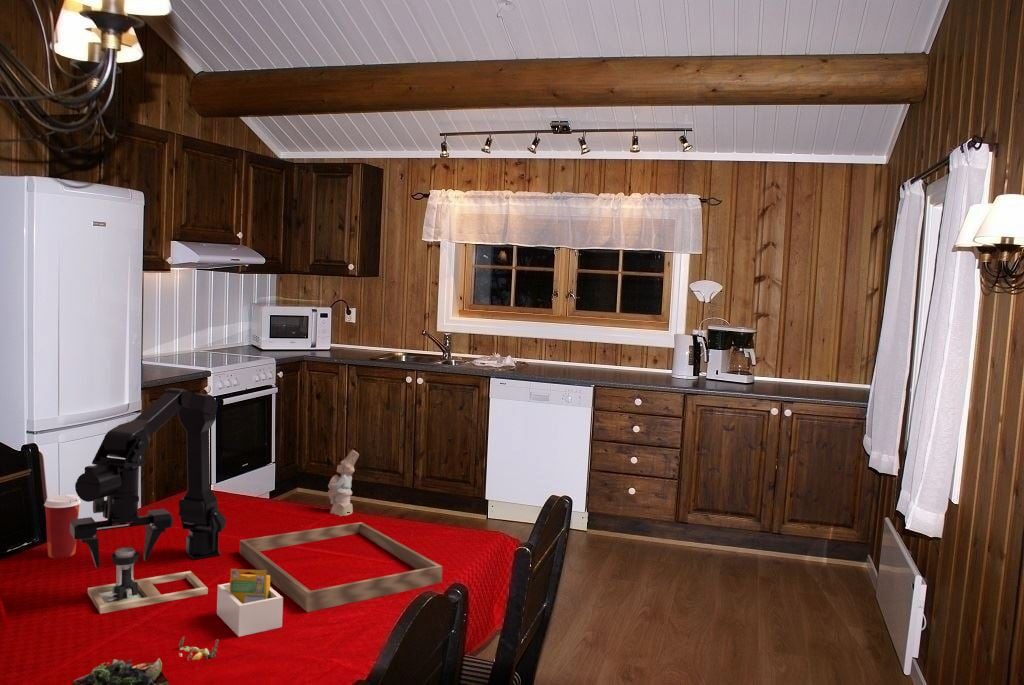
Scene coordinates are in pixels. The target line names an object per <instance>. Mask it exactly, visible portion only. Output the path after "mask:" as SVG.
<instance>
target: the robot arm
mask: <svg viewBox="0 0 1024 685" xmlns="http://www.w3.org/2000/svg"><path fill="white" fill-rule="evenodd" d="M217 402H218V401H217V398H215V397H214V396H213V395H211V394H204V393H202V394H201V393H196V392H191V391H189V390H187V389H184V388H174V387H170V388H165V390H164V391H163V393H162V394H161V396H159V398H157V399H156V400H155V401H154V402H153V403H152V404H151V405H149V406H148V407H147V408H146V409H144V410H143V411H142V412H141V413H140V414H138V415H137V417H135V418H134V419H132V420H130V421H128V422H124V423H121V424H118V425H116V426H114V427H113V428H112V429H109V430H108V431H107V433H106V434H105V435H104V437H103V440H102V441H101V444H100V445H99V447H98V450H97V451H96V453H95V455H94V458H93V460H92V461H91V464H92V465H88V466H85V467H84V473H82V474H80V475H79V476H78V478H77V479H76V482H75V485H74V487H75V488H74V489H75V492H76V495H77V496H78V497H79V500H82V501H84V502H88V503H90V502H92V512H93V514H101V513H102V518H104V519H107V520H99V521H95V519H93V517H92V516H91V517H82V518H78V519H73V520H72V521H71V523H70V533H71V535H72V536H73V538H74V539H77V540H79V541H80V542H81V543H84V544H85V543H86V544H87V546H88V549H89V552H90V554H91V557H92V560H93V562H94V566H95V568H96V569H99V568H100V548H99V547H100V546H99V545H100V544H99V538H98V536H97V533H98V532H100V531H107V530H117V529H125V528H133V527H140V526H144V529H145V534H144V536H145V537H144V544H143V561H144V562H147V561H148V559H149V557H150V554H151V553H152V550H153V548H154V546H155V545H156V543H157V541H158V539H159V538H160V536H161V535H162V534H163V533H166V532H167V529H168V528H172V527H174V526H173V525H174V517H173V515H172V514H171V513H170V512H169V511H168V510H166V508H159V509H157V508H156V509H149V510H147V512H146V515H140V516H139V502H140V495H139V482H140V481H139V480H140V478H139V476H140V467H141V466H145V465H146V464H147V463H146V461H145V460H144V459H142V456H143V454H144V453H145V452H146V451H147V449H148V447H149V446H150V445H151V438H152V437H153V435H154V434H155V433H156V432H157V431H159V429H160V428H162V427H163V426H164V425H165V424H166V423H167V422H168V421H169V420H170V419H171V418H173V417H174V416H175V414H177V413H178V419H179V423H180V424H181V425H182V427H183V428H184V430H185V431H186V464H187V466H186V467H187V491H186V493H185V495H184V496H183V497H182V498H181V499H179V501H178V507H179V510H178V511H179V512H178V516H179V517H180V523H181V526H182V530H188V535H186V539H185V542H186V543H185V553H186V554H187V555H188V556H189V557H190V558H192V559H193V560H197V559H203V558H205V559H206V558H210V557H216V556H217V557H218V556H221V551H220V550H219V539H220V538H219V535H220V534H219V533H220V532H223V529H225V527H226V524H227V518H225V516H224V515H223V513H221V510H219V502H218V499H217V497H216V495H215V494H214V492H213V491H212V489H211V470H210V469H211V465H210V463H211V462H210V460H211V459H210V430H211V428H212V427H213V424H214V423H215V421H216V419H217V411H218V403H217ZM105 498H106V499H105Z"/></svg>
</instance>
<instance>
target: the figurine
mask: <svg viewBox="0 0 1024 685" xmlns="http://www.w3.org/2000/svg"><path fill="white" fill-rule="evenodd" d="M359 456H360V454H359V453H358V452H357V451H355V450H354V449H351V451H350V452H349V453H348V454H347V456H346V457H345V458H344V459H343V460H341V461H340V464H338V465H337V466H336V467H337V468H336V472H337V473H339V474H340V476H339V475H338V474H334V475H333V476H332V477H331V478H330V481H329V483H328V484H327V487H328V489H329V490H328V491H327V494H328V499H330V504H331V505H332V507H331V508H330V511H329V513H330V514H331V515H335V516H337V515H338V516H339V517H342V516H349V515H352V514H353V512H354V510H353V509H354V508H353V503H351V496H352V495H353V491H352V489H351V488H352V481H353V477H352V474H353V473H354V472H355V470H356V469H355V467H354V466H355V464H356V462H357V460H358V459H359ZM347 512H350V513H347Z"/></svg>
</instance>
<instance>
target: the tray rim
mask: <svg viewBox="0 0 1024 685" xmlns="http://www.w3.org/2000/svg"><path fill="white" fill-rule="evenodd" d="M356 534H360V535H362V536H364V537H365V538H366V539H369V540H370V541H371V542H373V543H374V544H376V545H378V546H379V547H381V548H382V549H384V550H385V551H387V552H389V553H390V554H392V555H393V556H395V557H397V559H399V560H401V561H403V563H406V564H407V565H408V566H411V567H412V568H413V569H414V570H409V571H403V572H398V573H394V574H389V575H383V576H379V577H373V578H369V579H364V580H363V579H362V580H359V581H358V580H357V581H354V582H353V581H352V582H348V583H343V584H339V585H333V586H328V587H321V588H319V589H317V588H316V589H314V590H310V589H309V588H308V587H306V586H305V585H304V584H302V583H301V582H300V581H298V580H297V579H296V578H294V577H293V576H292V575H290V574H289V573H288V572H287V571H285V570H284V569H283V568H281V567H280V565H278V564H276V563H275V562H274V561H273V560H271V559H270V557H267V556H266V555H265V554H263V553H262V552H263V551H269V550H274V549H278V548H284V547H285V548H286V547H290V546H295V545H301V544H306V543H311V542H312V543H313V542H317V541H322V540H324V541H325V540H328V539H333V538H339V537H344V536H349V535H350V536H351V535H356ZM239 554H240V556H242V557H243V558H244V559H245V560H246V561H248V563H250V565H252V566H253V567H254V568H255V570H267V574H266V575H270V583H271V584H273V585H274V586H275V587H276V588H277V589H279V590H280V591H281V592H282V593H283V594H284V595H285V596H287V597H289V598H290V599H291V601H293V602H294V603H296V604H297V605H298V606H299V607H301V608H302V609H303V611H306V613H310V612H315V611H318V610H319V611H320V610H323V609H328V608H329V609H330V608H333V607H338V606H343V605H347V604H352V603H356V602H360V601H361V602H362V601H366V600H370V599H374V598H375V599H376V598H380V597H385V596H390V595H393V594H398V593H402V592H407V591H412V590H415V589H420V588H424V587H427V586H432V585H437V584H440V583H442V581H443V566H442V565H440V564H439V563H437V562H435V561H433V560H431V559H430V558H428V557H426V556H424V555H423V554H420V553H419V552H416V551H415V550H413V549H411V548H409V547H408V546H406V545H404V544H402V543H400V542H399V541H397V540H395V539H393V538H391V537H389V536H388V535H386V534H384V533H382V532H381V531H379V530H377V529H375V528H373V527H371V526H370V525H368V524H366V523H364V522H361V521H360V522H353V523H346V524H339V525H334V526H328V527H319V528H313V529H306V530H301V531H292V532H287V533H279V534H274V535H265V536H261V537H253V538H247V539H240V540H239Z"/></svg>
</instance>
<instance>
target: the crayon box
mask: <svg viewBox="0 0 1024 685" xmlns="http://www.w3.org/2000/svg"><path fill="white" fill-rule="evenodd" d="M246 573H247V574H246ZM248 573H249V574H248ZM266 574H267V570H257V569H242V568H241V569H239V568H238V569H237V568H230V578H229V583H230V593H231V594H232V595H233V596H235V597H236V598H237V599H238V600H239V601H240V602H241V603H242V604H244V603H249V602H254V601H259V600H264V599H269V591H270V587H271V581H270V575H266Z"/></svg>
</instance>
